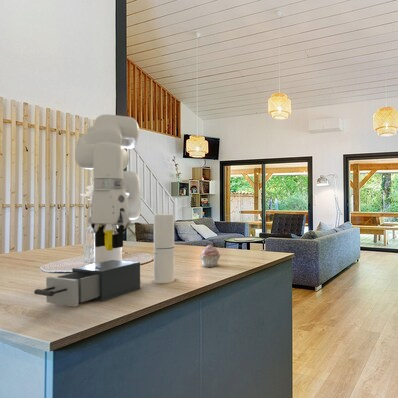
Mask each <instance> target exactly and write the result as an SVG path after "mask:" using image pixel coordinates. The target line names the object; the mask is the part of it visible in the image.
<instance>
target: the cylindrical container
mask: <svg viewBox="0 0 398 398" xmlns="http://www.w3.org/2000/svg"><path fill="white" fill-rule="evenodd" d="M174 281H175V214H174V213H155V214H153V283H154V284H168V283H172V282H174Z"/></svg>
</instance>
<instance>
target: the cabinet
mask: <svg viewBox="0 0 398 398" xmlns="http://www.w3.org/2000/svg"><path fill="white" fill-rule="evenodd" d="M71 270H72V272H71V273H74V272H88V273H98V274H100V297H97V298H94V299H91V300H90V301H98V302H105V301H107V300H110V299H113V298H116V297H119V296H121V295H125V294H128V293H131V292H133V291H137V290H139V289H141V262H140V261H133V260H131V261H130V260H122V261H120V260H110V261H105V262H100V263H96V264H95V263H92V264H91V263H90V264H86V265H82V266H78V267H77V266H76V267H72V268H71Z"/></svg>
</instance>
